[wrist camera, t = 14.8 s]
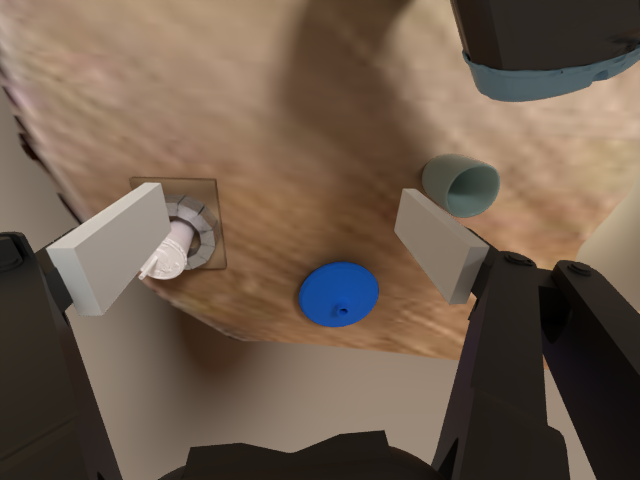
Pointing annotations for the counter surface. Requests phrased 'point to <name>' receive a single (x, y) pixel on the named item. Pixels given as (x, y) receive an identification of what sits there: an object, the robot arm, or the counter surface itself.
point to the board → (202, 192)
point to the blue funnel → (338, 294)
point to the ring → (200, 220)
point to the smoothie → (170, 252)
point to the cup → (460, 184)
